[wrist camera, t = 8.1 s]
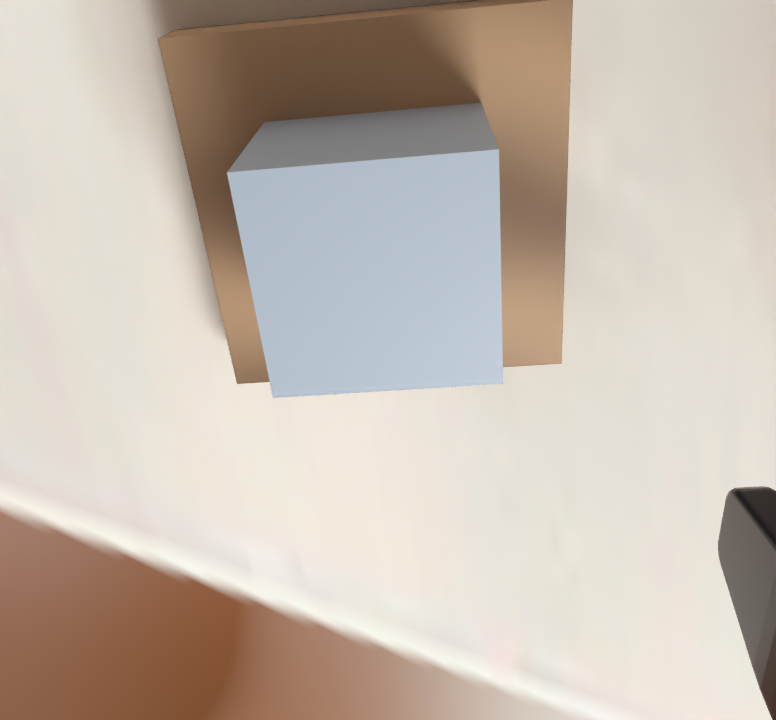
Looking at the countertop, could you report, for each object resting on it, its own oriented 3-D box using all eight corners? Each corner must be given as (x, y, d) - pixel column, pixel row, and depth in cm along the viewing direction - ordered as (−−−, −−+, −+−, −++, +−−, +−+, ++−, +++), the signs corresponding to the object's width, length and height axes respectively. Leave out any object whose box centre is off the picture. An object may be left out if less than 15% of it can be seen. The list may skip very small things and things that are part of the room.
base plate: (552, 336, 22) (561, 363, 20) (247, 356, 22) (237, 383, 21) (560, -8, 17) (572, -2, 16) (176, 30, 18) (157, 38, 16)
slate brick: (487, 301, 19) (503, 383, 16) (297, 314, 20) (273, 397, 16) (481, 102, 17) (499, 149, 13) (264, 122, 17) (227, 172, 14)
